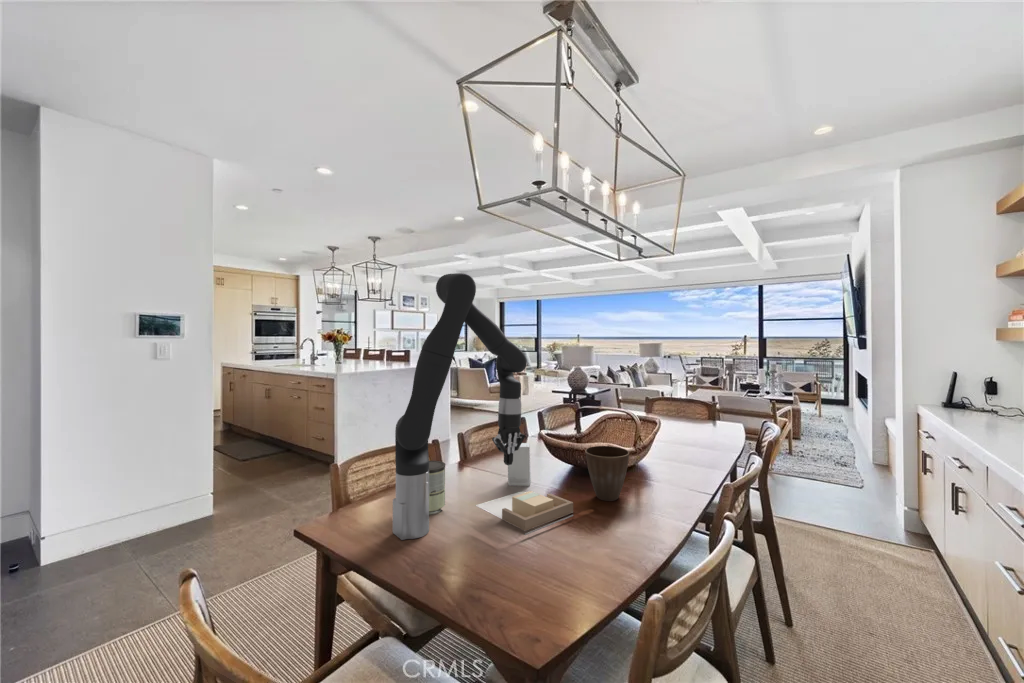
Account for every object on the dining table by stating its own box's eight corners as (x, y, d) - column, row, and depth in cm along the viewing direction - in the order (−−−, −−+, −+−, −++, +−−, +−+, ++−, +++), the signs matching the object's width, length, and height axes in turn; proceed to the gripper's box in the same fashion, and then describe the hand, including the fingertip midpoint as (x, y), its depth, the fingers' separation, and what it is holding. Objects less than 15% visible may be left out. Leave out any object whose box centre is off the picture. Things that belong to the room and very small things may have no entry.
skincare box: (530, 483, 158) (530, 442, 158) (529, 489, 151) (529, 447, 152) (508, 483, 159) (509, 442, 159) (507, 489, 152) (507, 446, 152)
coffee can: (406, 510, 132) (406, 466, 133) (428, 500, 141) (428, 458, 141) (430, 517, 127) (430, 471, 127) (451, 506, 136) (452, 463, 136)
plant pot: (618, 509, 134) (618, 459, 134) (577, 498, 143) (577, 452, 143) (635, 495, 146) (635, 450, 146) (596, 486, 155) (596, 443, 155)
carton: (534, 521, 121) (534, 506, 121) (512, 511, 129) (512, 496, 129) (553, 514, 127) (553, 499, 127) (530, 504, 134) (530, 490, 134)
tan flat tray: (525, 535, 115) (525, 520, 115) (475, 509, 134) (475, 496, 134) (573, 516, 128) (573, 502, 128) (521, 494, 147) (521, 482, 147)
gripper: (501, 414, 130) (499, 470, 129) (532, 411, 138) (530, 463, 138) (486, 411, 135) (485, 465, 135) (517, 408, 144) (515, 458, 144)
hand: (508, 464), depth 136 cm, fingers closed
